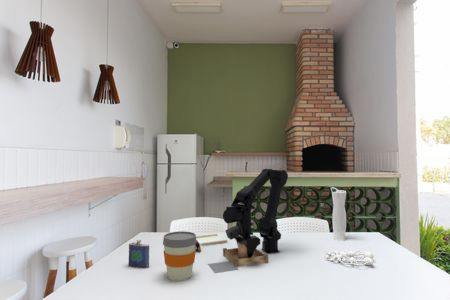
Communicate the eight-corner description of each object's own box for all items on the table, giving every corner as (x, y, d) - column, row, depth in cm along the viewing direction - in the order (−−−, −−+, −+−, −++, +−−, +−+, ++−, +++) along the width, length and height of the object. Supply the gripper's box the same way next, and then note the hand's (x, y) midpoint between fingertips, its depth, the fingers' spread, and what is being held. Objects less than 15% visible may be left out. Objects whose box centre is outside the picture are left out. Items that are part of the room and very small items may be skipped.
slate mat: (229, 261, 124) (229, 261, 124) (239, 270, 114) (239, 269, 114) (207, 264, 120) (207, 264, 120) (214, 273, 111) (214, 273, 111)
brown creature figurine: (201, 256, 132) (192, 241, 130) (183, 264, 133) (174, 249, 132) (204, 241, 144) (196, 228, 142) (188, 249, 145) (179, 236, 144)
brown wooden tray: (252, 252, 135) (252, 244, 136) (268, 263, 122) (268, 254, 122) (222, 256, 130) (222, 248, 130) (235, 267, 116) (235, 259, 116)
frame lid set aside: (216, 236, 163) (216, 233, 163) (227, 242, 151) (227, 240, 151) (193, 239, 157) (193, 236, 157) (202, 246, 145) (202, 243, 145)
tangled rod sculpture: (322, 266, 122) (321, 256, 122) (326, 253, 135) (326, 244, 135) (374, 273, 113) (373, 263, 113) (373, 258, 126) (373, 249, 126)
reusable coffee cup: (181, 285, 100) (181, 242, 101) (155, 277, 107) (155, 236, 107) (203, 273, 111) (203, 234, 111) (178, 266, 118) (178, 229, 118)
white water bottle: (331, 240, 155) (331, 188, 156) (330, 236, 162) (330, 186, 163) (347, 241, 153) (347, 188, 153) (346, 237, 160) (345, 187, 160)
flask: (150, 266, 118) (150, 239, 119) (146, 268, 116) (146, 241, 116) (130, 264, 121) (130, 238, 121) (126, 266, 118) (126, 240, 118)
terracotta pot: (248, 255, 130) (248, 239, 130) (254, 260, 124) (253, 243, 124) (235, 257, 128) (235, 241, 128) (241, 262, 122) (241, 245, 122)
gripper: (220, 217, 132) (220, 251, 132) (235, 226, 115) (235, 265, 114) (242, 215, 136) (242, 248, 136) (260, 224, 119) (261, 262, 118)
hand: (244, 256), depth 126 cm, fingers open, 9 cm apart
